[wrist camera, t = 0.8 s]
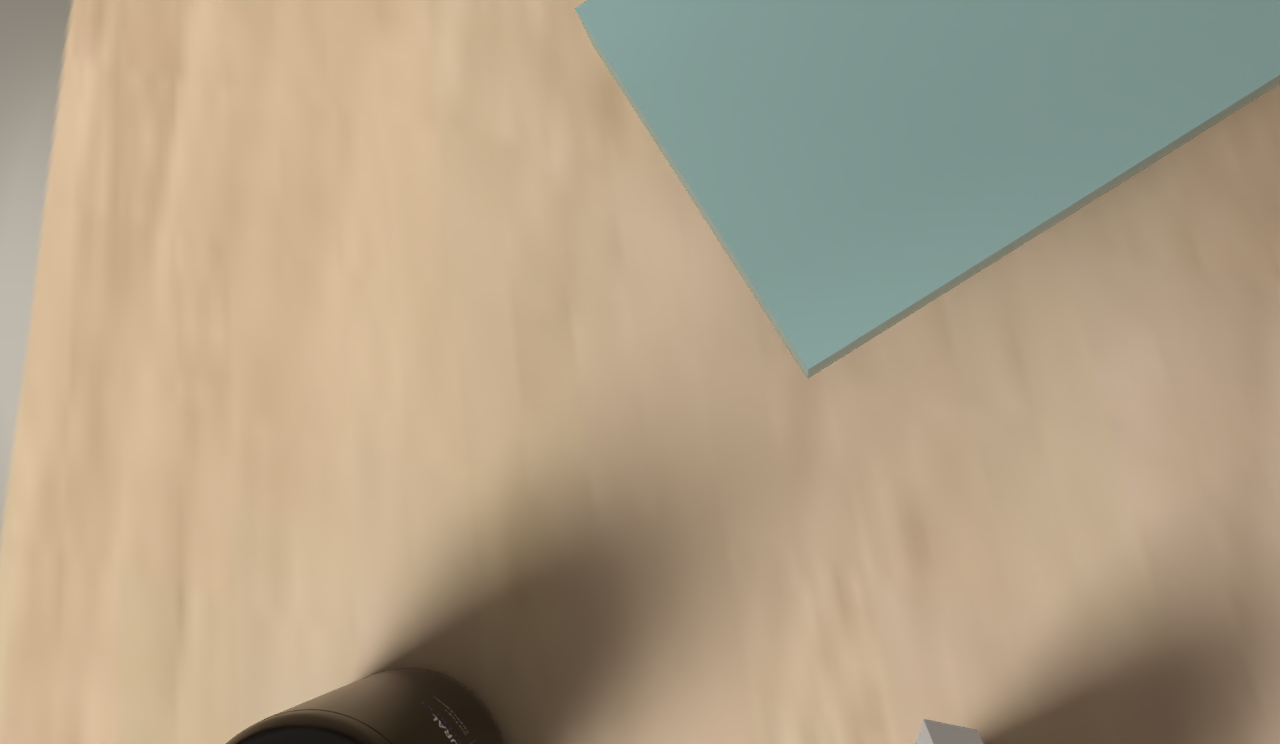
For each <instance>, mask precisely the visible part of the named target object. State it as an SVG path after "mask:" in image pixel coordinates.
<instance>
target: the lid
mask: <svg viewBox="0 0 1280 744" xmlns="http://www.w3.org/2000/svg"><path fill="white" fill-rule="evenodd" d="M575 9H576V11H577V13H578V15H579V17H580V19H581V22H582V24H583V26H584V28H585V30H586V32H587V34H588V36H589V38H590V40H591V42H592V44H593V46H594V48H595V49H596V51H597V53H598V54H599V56H600V57H601V59H602V60H603V62H604V63H605V65H606V67H607V68H608V70H609V71H610V73H611V74H612V76H613V77H614V79H615V80H616V82H617V84H618V85H619V87H620V88H621V90H622V91H623V93H624V94H625V96H626V98H627V99H628V101H629V102H630V104H631V105H632V107H633V108H634V110H635V111H636V113H637V115H638V116H639V118H640V119H641V121H642V122H643V124H644V125H645V127H646V129H647V130H648V132H649V133H650V135H651V136H652V138H653V139H654V141H655V143H656V144H657V146H658V147H659V149H660V150H661V152H662V153H663V155H664V156H665V158H666V160H667V161H668V163H669V164H670V166H671V167H672V169H673V170H674V172H675V174H676V175H677V177H678V178H679V180H680V181H681V183H682V184H683V186H684V188H685V189H686V191H687V192H688V194H689V195H690V197H691V198H692V200H693V201H694V203H695V205H696V206H697V208H698V209H699V211H700V212H701V214H702V215H703V217H704V219H705V220H706V222H707V223H708V225H709V226H710V228H711V229H712V231H713V233H714V234H715V236H716V237H717V239H718V240H719V242H720V243H721V245H722V246H723V248H724V250H725V251H726V253H727V254H728V256H729V257H730V259H731V260H732V262H733V264H734V265H735V267H736V268H737V270H738V271H739V273H740V274H741V276H742V278H743V279H744V281H745V282H746V284H747V285H748V287H749V288H750V290H751V291H752V293H753V295H754V296H755V298H756V299H757V301H758V302H759V304H760V305H761V307H762V309H763V310H764V312H765V313H766V315H767V316H768V318H769V319H770V321H771V323H772V324H773V326H774V327H775V329H776V330H777V332H778V333H779V335H780V336H781V338H782V340H783V341H784V343H785V344H786V346H787V347H788V349H789V350H790V352H791V354H792V355H793V357H794V358H795V360H796V361H797V363H798V364H799V366H800V368H801V369H802V371H803V372H804V374H805V375H806V377H807V378H810V377H811V376H813V375H814V374H816V373H818V372H819V371H821V370H822V369H824V368H826V367H827V366H829V365H830V364H832V363H834V362H835V361H837V360H838V359H840V358H842V357H843V356H845V355H846V354H848V353H850V352H851V351H853V350H854V349H856V348H858V347H859V346H861V345H862V344H864V343H866V342H867V341H869V340H870V339H872V338H874V337H875V336H877V335H878V334H880V333H882V332H883V331H885V330H886V329H888V328H890V327H891V326H893V325H894V324H896V323H898V322H899V321H901V320H902V319H904V318H906V317H907V316H909V315H910V314H912V313H914V312H915V311H917V310H918V309H920V308H922V307H923V306H925V305H926V304H928V303H930V302H931V301H933V300H934V299H936V298H938V297H939V296H941V295H942V294H944V293H946V292H947V291H949V290H950V289H952V288H954V287H955V286H957V285H958V284H960V283H962V282H963V281H965V280H966V279H968V278H970V277H971V276H973V275H974V274H976V273H978V272H979V271H981V270H982V269H984V268H986V267H987V266H989V265H990V264H992V263H994V262H995V261H997V260H999V259H1000V258H1002V257H1003V256H1005V255H1007V254H1008V253H1010V252H1011V251H1013V250H1015V249H1016V248H1018V247H1019V246H1021V245H1023V244H1024V243H1026V242H1027V241H1029V240H1031V239H1032V238H1034V237H1035V236H1037V235H1039V234H1040V233H1042V232H1043V231H1045V230H1047V229H1048V228H1050V227H1051V226H1053V225H1055V224H1056V223H1058V222H1059V221H1061V220H1063V219H1064V218H1066V217H1067V216H1069V215H1071V214H1072V213H1074V212H1075V211H1077V210H1079V209H1080V208H1082V207H1083V206H1085V205H1087V204H1088V203H1090V202H1091V201H1093V200H1095V199H1096V198H1098V197H1099V196H1101V195H1103V194H1104V193H1106V192H1107V191H1109V190H1111V189H1112V188H1114V187H1115V186H1117V185H1119V184H1120V183H1122V182H1123V181H1125V180H1127V179H1128V178H1130V177H1131V176H1133V175H1135V174H1136V173H1138V172H1139V171H1141V170H1143V169H1144V168H1146V167H1147V166H1149V165H1151V164H1152V163H1154V162H1155V161H1157V160H1159V159H1160V158H1162V157H1163V156H1165V155H1167V154H1168V153H1170V152H1171V151H1173V150H1175V149H1176V148H1178V147H1179V146H1181V145H1183V144H1184V143H1186V142H1187V141H1189V140H1191V139H1192V138H1194V137H1195V136H1197V135H1199V134H1200V133H1202V132H1203V131H1205V130H1207V129H1208V128H1210V127H1211V126H1213V125H1215V124H1216V123H1218V122H1219V121H1221V120H1223V119H1224V118H1226V117H1227V116H1229V115H1231V114H1232V113H1234V112H1235V111H1237V110H1239V109H1240V108H1242V107H1244V106H1245V105H1247V104H1248V103H1250V102H1252V101H1253V100H1255V99H1256V98H1258V97H1260V96H1261V95H1263V94H1264V93H1266V92H1268V91H1269V90H1271V89H1272V88H1274V87H1276V86H1277V85H1279V84H1280V0H587V1H586V2H584V3H583V4H581V5H580V6H578V7H577V8H575Z"/></svg>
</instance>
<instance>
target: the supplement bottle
mask: <svg viewBox="0 0 1280 744" xmlns="http://www.w3.org/2000/svg"><path fill="white" fill-rule="evenodd" d="M226 744H504V742H503V739H502V736H501V733H500V731H499V729H498V726H497V724H496V722H495V721H494V719H493V717H492V715H491V714H490V712H489V711H488V709H487V708H486V707H485V706H484V704H483V703H482V702H481V701H480V700H479V699H478V698H477V697H476V696H475V695H474V694H473V693H472V692H471V691H470V690H468V689H467V688H466V687H465V686H463V685H462V684H460V683H459V682H457V681H455V680H453V679H451V678H449V677H447V676H445V675H442V674H440V673H437V672H433V671H430V670H424V669H416V668H401V669H394V670H388V671H384V672H380V673H377V674H374V675H371V676H368V677H366V678H363V679H360V680H358V681H355V682H353V683H351V684H348V685H346V686H343V687H341V688H338V689H336V690H334V691H331V692H329V693H326V694H324V695H321V696H319V697H317V698H314V699H312V700H309V701H307V702H304V703H302V704H300V705H297V706H295V707H292V708H290V709H287V710H285V711H283V712H280V713H278V714H275V715H273V716H270V717H268V718H266V719H264V720H262V721H260V722H258V723H256V724H254V725H252V726H250V727H248V728H247V729H245V730H244V731H242V732H240V733H239V734H237V735H236V736H235V737H233V738H232V739H231V740H230V741H228V742H227V743H226Z"/></svg>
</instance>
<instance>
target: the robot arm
mask: <svg viewBox="0 0 1280 744" xmlns="http://www.w3.org/2000/svg"><path fill="white" fill-rule="evenodd" d="M916 744H983V742H982V740H981V738H980V735H979V733H978V731H977V730H974V729H969V728H965V727H960V726H955V725H950V724H945V723H941V722H936V721H931V720H926V719H923V722H922V725H921V728H920V732H919V735H918V738H917V742H916Z"/></svg>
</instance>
